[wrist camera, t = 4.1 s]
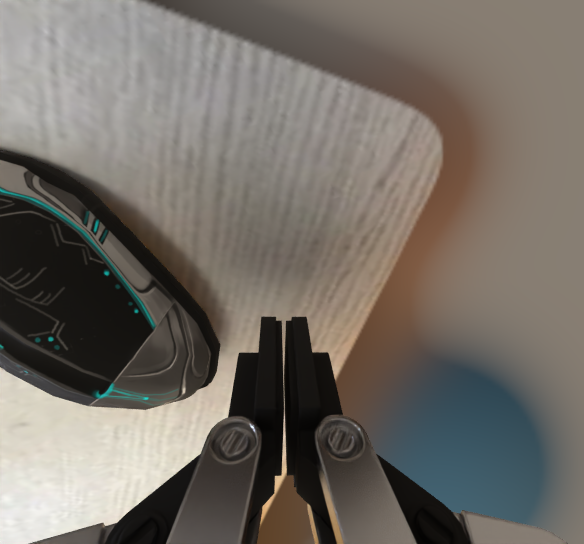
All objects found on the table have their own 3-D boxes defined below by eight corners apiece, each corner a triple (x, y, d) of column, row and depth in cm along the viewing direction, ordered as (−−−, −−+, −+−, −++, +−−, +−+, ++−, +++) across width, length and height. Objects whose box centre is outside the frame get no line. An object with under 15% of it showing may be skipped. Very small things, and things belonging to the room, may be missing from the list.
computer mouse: (-66, 62, 12) (-343, 12, 6) (264, 308, 17) (260, 387, 12) (-129, 222, 14) (-365, 280, 9) (177, 390, 20) (142, 485, 15)
